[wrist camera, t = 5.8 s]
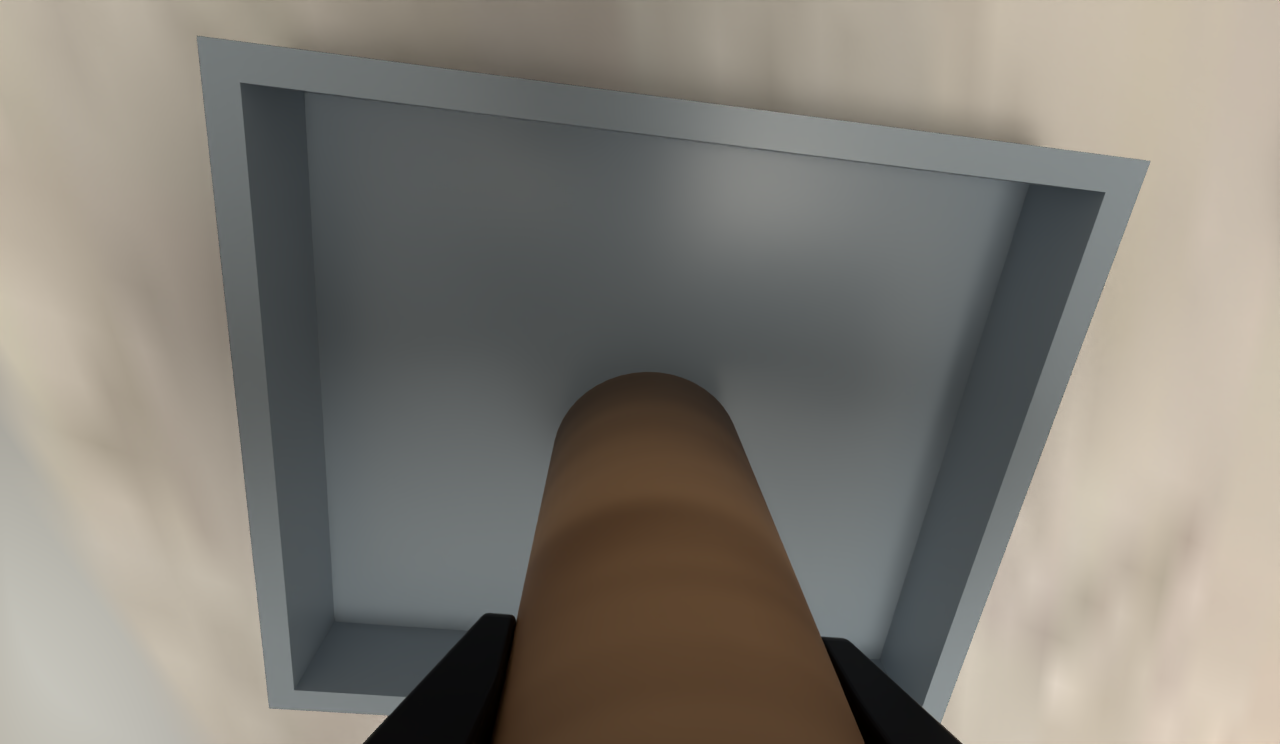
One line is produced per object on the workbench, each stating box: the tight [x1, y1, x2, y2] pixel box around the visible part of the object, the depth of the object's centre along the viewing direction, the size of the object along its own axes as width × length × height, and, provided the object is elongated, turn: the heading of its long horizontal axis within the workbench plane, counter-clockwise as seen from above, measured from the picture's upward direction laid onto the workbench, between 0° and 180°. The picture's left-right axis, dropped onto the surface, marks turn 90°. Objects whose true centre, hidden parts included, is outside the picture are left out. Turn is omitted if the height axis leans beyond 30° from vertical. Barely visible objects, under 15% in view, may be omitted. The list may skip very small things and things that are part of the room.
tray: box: [197, 36, 1150, 724], centre depth 14 cm, size 14×16×3 cm
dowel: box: [490, 372, 865, 744], centre depth 9 cm, size 4×4×10 cm
